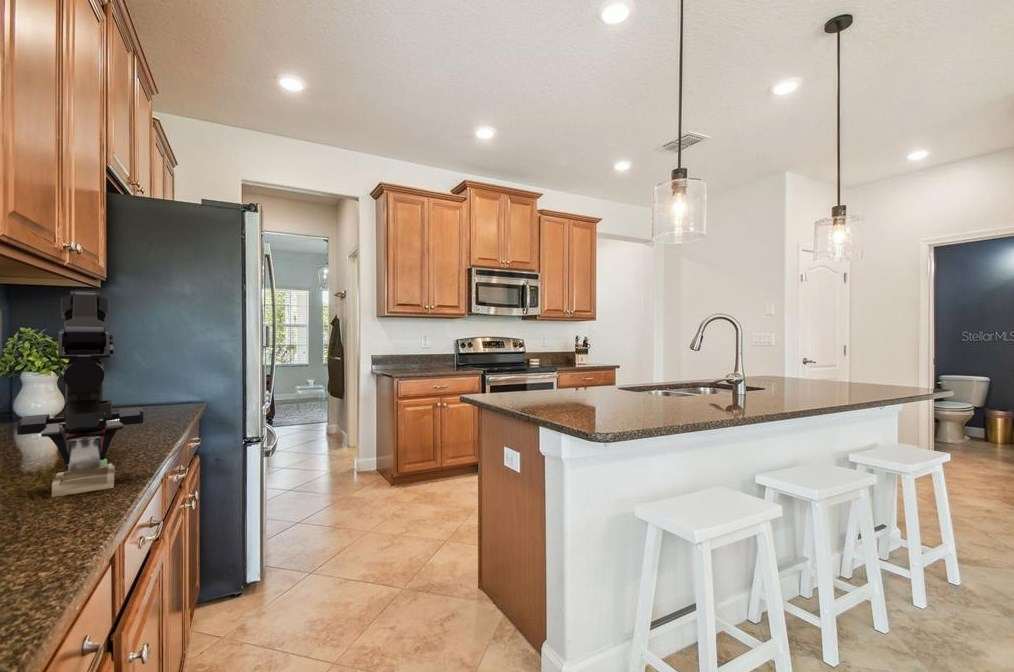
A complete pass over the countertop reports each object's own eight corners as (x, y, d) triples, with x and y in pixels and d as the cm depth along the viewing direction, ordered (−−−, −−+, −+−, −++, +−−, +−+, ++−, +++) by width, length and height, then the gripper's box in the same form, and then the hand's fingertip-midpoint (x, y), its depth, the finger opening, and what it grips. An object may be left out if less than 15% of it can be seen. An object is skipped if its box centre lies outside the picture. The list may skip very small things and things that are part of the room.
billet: (69, 467, 96) (69, 438, 95) (101, 463, 99) (101, 434, 99) (67, 473, 92) (67, 443, 92) (100, 468, 95) (100, 439, 95)
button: (92, 473, 102) (92, 459, 102) (107, 471, 104) (107, 458, 104) (92, 476, 101) (92, 462, 101) (106, 474, 102) (106, 460, 102)
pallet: (57, 484, 96) (57, 472, 96) (114, 476, 102) (114, 465, 102) (51, 497, 89) (51, 484, 89) (113, 487, 95) (113, 475, 95)
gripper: (11, 394, 83) (11, 481, 83) (143, 386, 95) (144, 463, 95) (22, 387, 91) (22, 466, 92) (142, 381, 103) (142, 451, 104)
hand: (85, 461), depth 95 cm, fingers closed on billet, 5 cm apart
